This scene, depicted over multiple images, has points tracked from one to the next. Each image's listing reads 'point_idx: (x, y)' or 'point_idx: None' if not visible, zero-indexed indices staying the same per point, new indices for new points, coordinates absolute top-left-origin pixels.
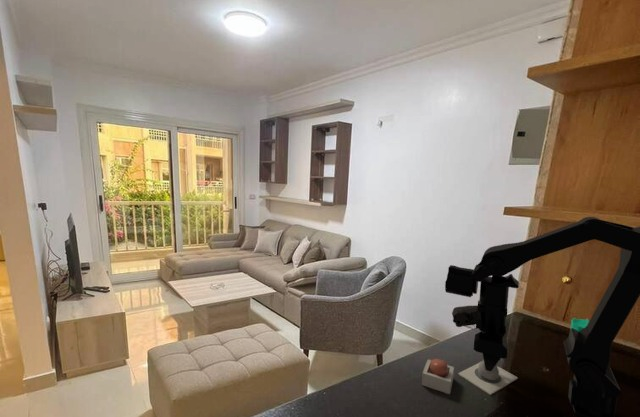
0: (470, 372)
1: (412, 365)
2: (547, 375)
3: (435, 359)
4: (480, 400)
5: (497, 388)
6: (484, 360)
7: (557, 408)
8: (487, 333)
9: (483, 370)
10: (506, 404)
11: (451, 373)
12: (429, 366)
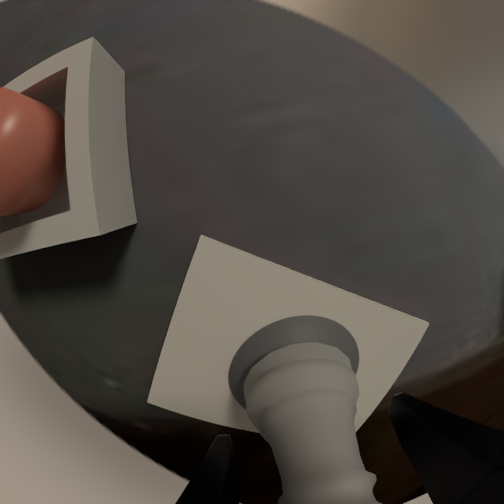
0: (266, 298)
1: (133, 9)
2: (398, 459)
3: (10, 99)
4: (86, 367)
5: (214, 419)
6: (181, 496)
7: (247, 501)
8: (497, 495)
9: (256, 397)
10: (147, 436)
11: (27, 243)
12: (45, 85)
